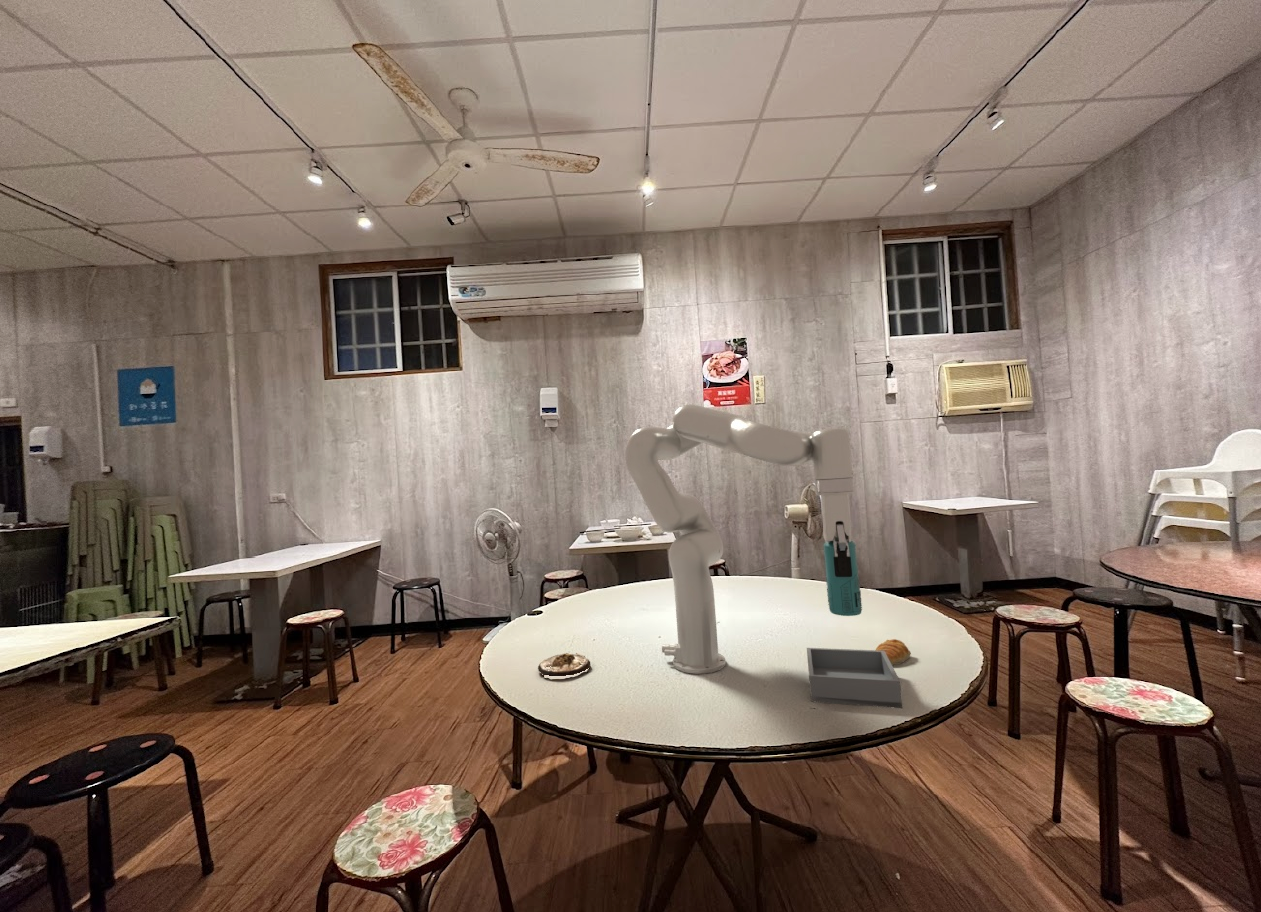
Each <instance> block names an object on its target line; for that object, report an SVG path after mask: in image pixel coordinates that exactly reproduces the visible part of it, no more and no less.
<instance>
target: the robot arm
mask: <svg viewBox="0 0 1261 912" xmlns="http://www.w3.org/2000/svg"><path fill="white" fill-rule="evenodd" d="M671 419H672V421H671V422H672V423H671V424H672V425H670V426H669V427H666V428H665V427H658V426H644V427H641V428H639V429H637V430H635V431H634V432H633V433H632V434H631V435H630V437H629V438H628V440H627V443H626V446H625V449H624V461H625V466H626V469H627V470H628V472H629V475H630V477H631V479H632V480H633V482H634V483H635V485H636V487H637V489H638V491H639V492H640V494H641V498H642V499H643V500H644V501H643V502H645V503H644V504H645V505H646V507H647V508H648V510H649V512H650V514H651V516H652V518H653V520H654V522H655V524H656V526H657V527H658V528H659V529H660V530H661V531H663V532H664V533H668V534H669V533H670V534H671V533H676V532H679V533H680V535H679V536H678V537H677V538H675V539H674V540H673V542H672V543H671V545H670V547H669V550H668V560H669V561H668V563H669V566H670V570H671V575H672V581H673V588H674V589H673V590H674V602H675V615H676V616H675V617H676V629H677V643H674V645H670V644H662V645H661V652H662V654H664V656H665V657H666V656H668V657H670V656H672V657H673V660H672V663H673V667H674V668H675V669H676V670H678V671H680V672H683V673H686V674H687V673H688V674H694V675H695V674H696V675H697V674H698V675H699V674H701V675H702V674H711V673H714V672H717V671H719V670H721V669H723V668H724V667H725V666H726V657H725V656H724V655H722V653H719V645H718V643H719V642H718V630H717V628H718V627H717V617H716V615H717V614H716V604H715V603H716V602H715V591H714V590H715V589H714V583H713V579H712V576H711V573H710V567H711V566H713V565H715V564H717V562H719V561H720V560H721V558H722V556H723V553H724V543H723V540H722V538H721V535H720V533H719V531H718V530H717V528H716V526H715V524H714V522H713V520H712V519H711V517H710V515H709V513H708V512H707V510H706V508H705V507H704V505H703V504H702V502H701V501H700V500H699V499H698V498H697V497H696V496H695V495H693V494H690V493H686V492H679V491H678V490H677V488H676V486H675V485H674V483H673V481H672V479H671V477H670V476H669V474H668V473H667V471H666V469H664V468H663V467H662V465H661V464H660V463H659V461H668V460H669V461H670V460H673V459H675V458H678V457H680V456H683V455H684V454H685V453H688V452H689V451H691V450H693V449H694V448H696V447H698V446H699V445H701V444H705V445H709V446H711V447H716V448H719V449H721V450H726V451H729V452H731V453H734V454H735V453H736V454H739V455H743V456H746V457H750V458H752V459H756V460H759V461H763V462H766V463H770V464H773V465H777V466H781V467H800V466H806V465H809V464H812V465H813V474H814V475H813V477H814V487H815V495H816V496H821V498H820V501H821V502H820V504H821V505H820V506H821V520H822V530H823V531H822V532H823V533H822V534H823V535H822V536H823V539H824V542H827V543H830V541H833V546H834V554H835V557H833V559H834V570H835V576H836V577H852V567H851V557H850V554H849V546H848V543H849V542H851V541H852V521H851V520H852V519H851V517H852V516H851V507H850V497H849V495H852V494H855V485H854V478H853V477H854V474H853V472H854V471H853V463H852V450H851V441H850V440H851V439H850V434H849V431H848V430H847V429H845V428H842V427H841V428H839V427H834V428H824V429H818V430H815V431H814V432H800V431H799V432H798V431H794V430H788V429H784V428H779V427H775V426H770V425H766V424H764V423H758V422H755V421H751V420H748V418H747V419H746V418H745V417H744V416H741V415H737V414H734V413H730V412H725V411H722V410H718V409H714V408H709V407H706V406H700V405H695V404H683V405H682V406H680V407H679V408H677V409H676V411H674V413H673V415H672V418H671ZM836 529H837V531H836ZM835 540H838V541H835ZM848 540H849V541H848Z"/></svg>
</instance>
